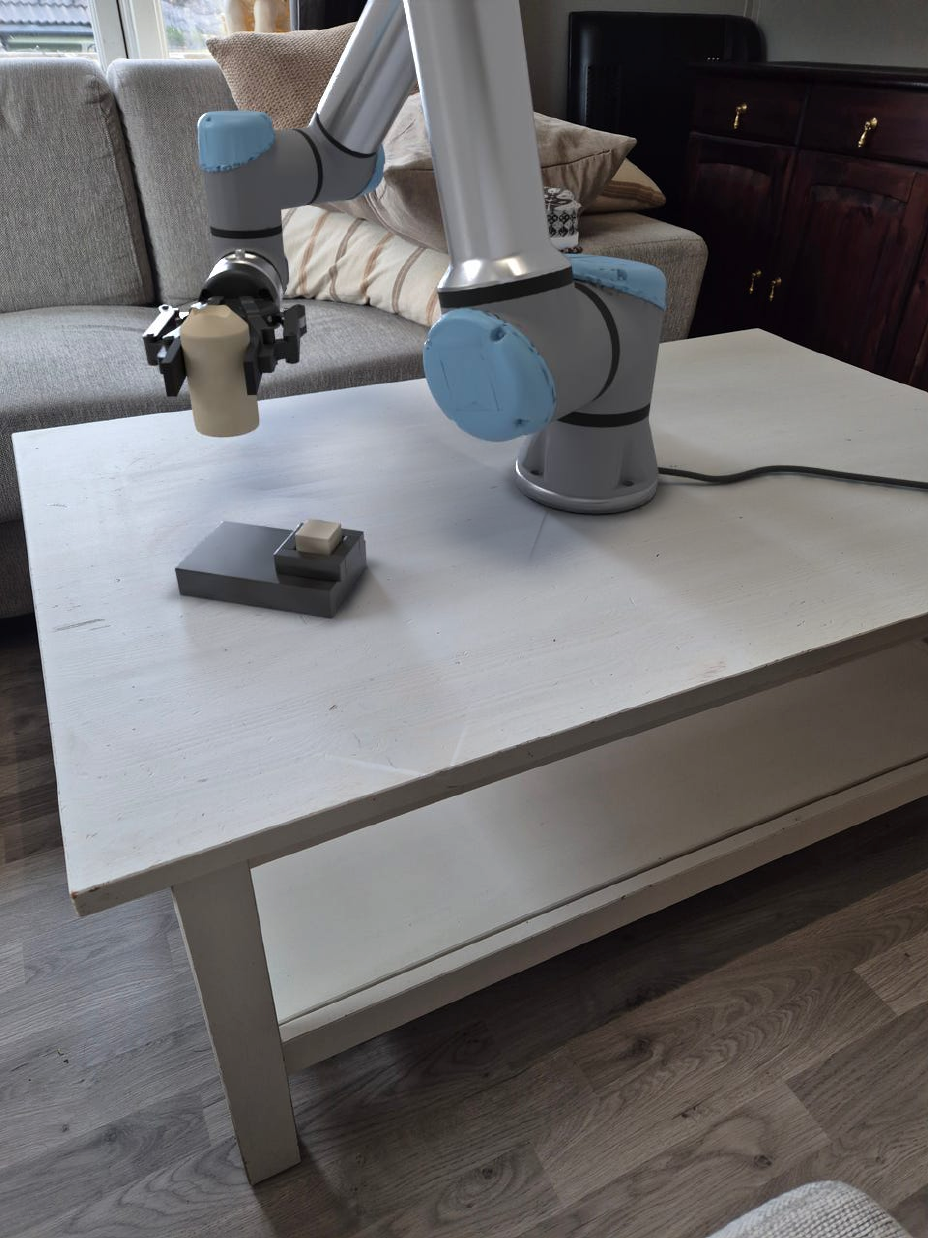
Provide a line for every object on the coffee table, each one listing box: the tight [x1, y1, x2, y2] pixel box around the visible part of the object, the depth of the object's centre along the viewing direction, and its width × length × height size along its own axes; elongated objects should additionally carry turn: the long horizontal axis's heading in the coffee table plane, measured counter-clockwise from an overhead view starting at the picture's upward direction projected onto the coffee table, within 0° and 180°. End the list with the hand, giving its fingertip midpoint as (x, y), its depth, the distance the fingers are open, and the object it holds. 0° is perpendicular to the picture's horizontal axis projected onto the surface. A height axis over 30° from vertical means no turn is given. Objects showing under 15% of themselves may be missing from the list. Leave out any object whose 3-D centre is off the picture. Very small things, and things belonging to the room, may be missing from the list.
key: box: [295, 518, 342, 556], centre depth 75 cm, size 3×3×2 cm
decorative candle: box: [543, 186, 584, 254], centre depth 112 cm, size 9×9×25 cm
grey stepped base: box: [174, 520, 368, 619], centre depth 78 cm, size 14×9×4 cm, turn 76°
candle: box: [179, 305, 260, 438], centre depth 75 cm, size 6×6×10 cm
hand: (209, 379), depth 70 cm, fingers closed on candle, 5 cm apart
